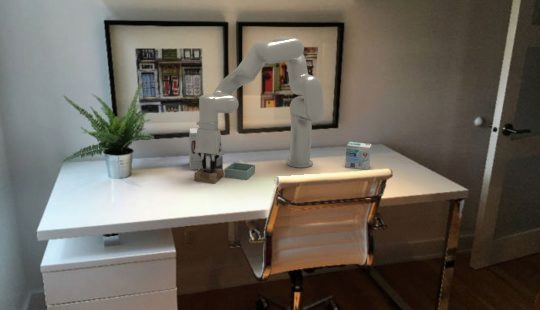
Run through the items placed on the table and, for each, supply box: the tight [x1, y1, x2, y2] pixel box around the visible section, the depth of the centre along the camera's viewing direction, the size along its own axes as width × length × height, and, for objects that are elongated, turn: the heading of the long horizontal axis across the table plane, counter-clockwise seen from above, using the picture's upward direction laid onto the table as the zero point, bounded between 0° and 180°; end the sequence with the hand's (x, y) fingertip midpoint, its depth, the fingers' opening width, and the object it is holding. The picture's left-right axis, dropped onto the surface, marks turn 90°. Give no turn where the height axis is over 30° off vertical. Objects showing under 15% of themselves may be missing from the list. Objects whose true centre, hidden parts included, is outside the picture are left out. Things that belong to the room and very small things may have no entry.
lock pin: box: [205, 154, 213, 173], centre depth 197 cm, size 4×4×13 cm
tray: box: [224, 161, 256, 181], centre depth 204 cm, size 10×10×4 cm
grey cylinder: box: [216, 155, 224, 170], centre depth 206 cm, size 6×6×8 cm
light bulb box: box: [344, 141, 372, 171], centre depth 219 cm, size 11×7×11 cm, turn 71°
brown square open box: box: [194, 168, 224, 185], centre depth 198 cm, size 9×9×4 cm
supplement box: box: [188, 127, 203, 170], centre depth 212 cm, size 10×9×17 cm
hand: (209, 168), depth 197 cm, fingers closed on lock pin, 3 cm apart
